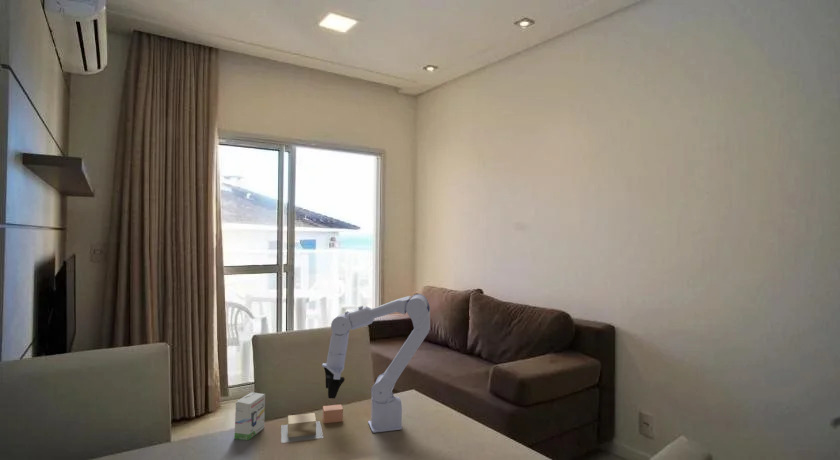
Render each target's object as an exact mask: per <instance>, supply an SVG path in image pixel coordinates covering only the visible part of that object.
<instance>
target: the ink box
mask: <svg viewBox="0 0 840 460" xmlns="http://www.w3.org/2000/svg"><path fill="white" fill-rule="evenodd" d="M265 412H266V393H262V392H261V393H259V392H254V391H251V392H249V393H248V394H246V395H244V396H243V397H241V398H240V399H238V400H236V402H235V414H234V416H235V417H234V418H235V419H234V438H233V439H236V440H242V441H249V440H251V439H252V438H253V437H254V436H256V435H257V434H258V433H260V432H261V431H262V430H263V429H265V416H266V413H265Z"/></svg>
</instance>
